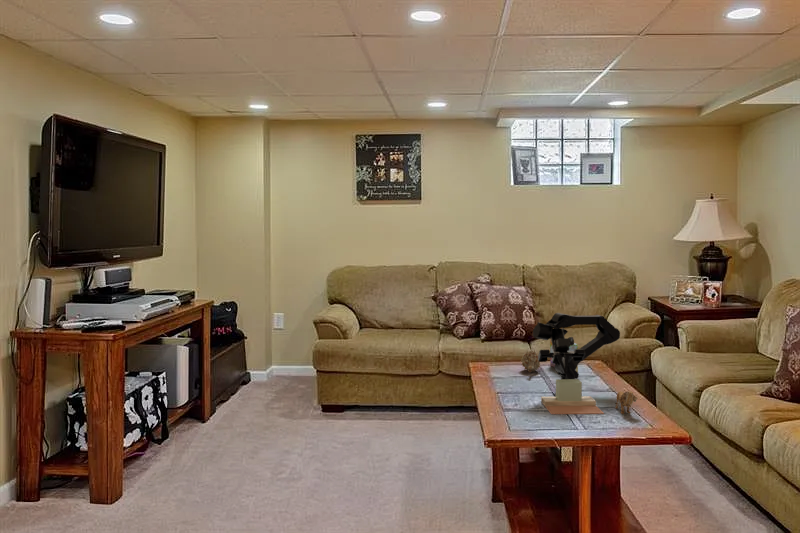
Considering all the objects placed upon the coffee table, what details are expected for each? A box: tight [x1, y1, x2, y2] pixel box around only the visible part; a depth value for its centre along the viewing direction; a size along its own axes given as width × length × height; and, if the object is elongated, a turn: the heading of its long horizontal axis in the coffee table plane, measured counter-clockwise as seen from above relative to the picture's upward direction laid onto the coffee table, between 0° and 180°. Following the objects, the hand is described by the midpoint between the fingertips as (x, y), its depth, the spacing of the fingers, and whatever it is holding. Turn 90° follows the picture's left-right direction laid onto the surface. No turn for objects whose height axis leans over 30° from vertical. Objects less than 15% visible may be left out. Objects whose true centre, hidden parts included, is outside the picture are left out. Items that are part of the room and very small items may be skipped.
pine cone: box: [520, 350, 541, 373], centre depth 296 cm, size 22×10×10 cm, turn 172°
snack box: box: [549, 339, 579, 373], centre depth 302 cm, size 21×6×15 cm, turn 10°
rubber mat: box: [545, 405, 605, 415], centre depth 236 cm, size 10×20×1 cm, turn 89°
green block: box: [555, 378, 583, 401], centre depth 243 cm, size 5×9×8 cm, turn 89°
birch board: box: [540, 395, 597, 408], centre depth 244 cm, size 7×20×2 cm, turn 89°
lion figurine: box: [614, 390, 639, 415], centre depth 234 cm, size 15×5×9 cm, turn 5°
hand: (565, 372), depth 249 cm, fingers closed
